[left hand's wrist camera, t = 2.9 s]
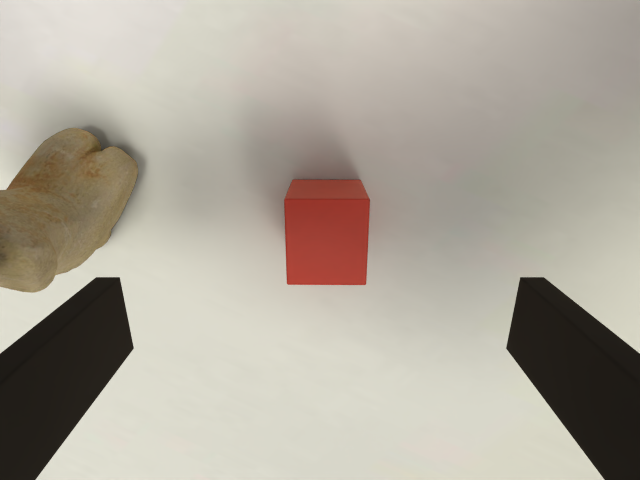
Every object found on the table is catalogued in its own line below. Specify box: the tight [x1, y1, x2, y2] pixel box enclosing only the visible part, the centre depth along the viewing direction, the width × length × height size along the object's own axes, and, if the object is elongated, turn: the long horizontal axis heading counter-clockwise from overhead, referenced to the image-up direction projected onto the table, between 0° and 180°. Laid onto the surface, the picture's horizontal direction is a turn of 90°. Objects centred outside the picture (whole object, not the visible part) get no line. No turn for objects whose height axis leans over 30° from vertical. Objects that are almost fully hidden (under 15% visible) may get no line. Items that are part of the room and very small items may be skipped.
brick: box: [284, 180, 370, 285], centre depth 22 cm, size 4×5×5 cm
